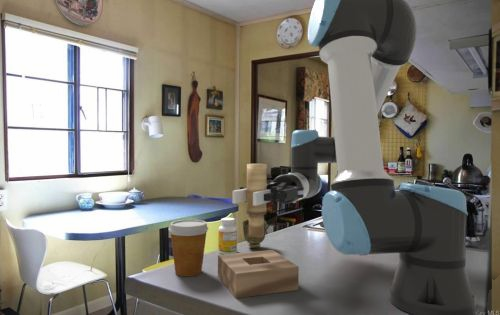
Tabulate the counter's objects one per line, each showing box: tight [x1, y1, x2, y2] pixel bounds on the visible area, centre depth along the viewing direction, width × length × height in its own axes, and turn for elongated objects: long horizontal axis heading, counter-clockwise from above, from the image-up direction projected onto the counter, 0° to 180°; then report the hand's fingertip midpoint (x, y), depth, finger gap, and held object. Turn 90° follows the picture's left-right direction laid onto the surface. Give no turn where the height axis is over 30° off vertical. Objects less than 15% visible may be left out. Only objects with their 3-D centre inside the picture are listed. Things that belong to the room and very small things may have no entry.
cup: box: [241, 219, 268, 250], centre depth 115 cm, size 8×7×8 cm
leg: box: [245, 163, 268, 237], centre depth 85 cm, size 5×5×16 cm
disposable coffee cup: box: [168, 219, 209, 277], centre depth 92 cm, size 10×10×12 cm
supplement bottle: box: [217, 217, 238, 255], centre depth 110 cm, size 5×5×10 cm
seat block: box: [217, 249, 300, 299], centre depth 85 cm, size 14×14×5 cm
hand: (244, 198), depth 80 cm, fingers closed on leg, 4 cm apart
